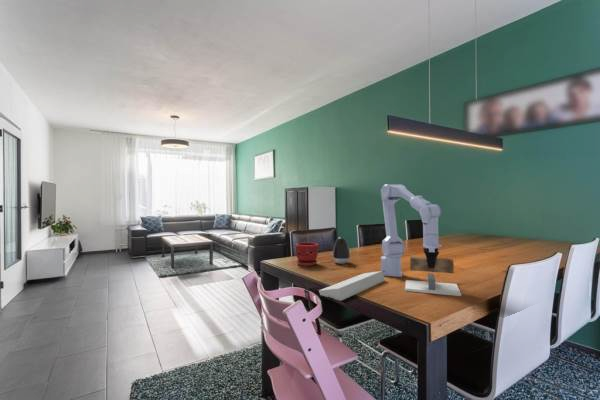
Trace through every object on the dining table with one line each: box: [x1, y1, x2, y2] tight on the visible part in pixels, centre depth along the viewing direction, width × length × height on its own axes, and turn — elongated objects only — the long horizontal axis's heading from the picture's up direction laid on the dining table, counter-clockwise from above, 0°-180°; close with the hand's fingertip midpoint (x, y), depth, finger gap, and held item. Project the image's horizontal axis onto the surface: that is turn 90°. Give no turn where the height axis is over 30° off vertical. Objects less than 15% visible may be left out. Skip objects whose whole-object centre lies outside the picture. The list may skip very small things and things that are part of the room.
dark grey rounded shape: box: [332, 236, 351, 265], centre depth 171 cm, size 10×10×15 cm
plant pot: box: [295, 242, 319, 267], centre depth 169 cm, size 13×13×12 cm
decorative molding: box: [318, 270, 385, 302], centre depth 124 cm, size 34×5×10 cm
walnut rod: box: [409, 256, 455, 274], centre depth 121 cm, size 16×4×5 cm, turn 69°
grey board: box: [404, 279, 462, 297], centre depth 121 cm, size 20×13×1 cm, turn 69°
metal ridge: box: [427, 272, 436, 290], centre depth 121 cm, size 2×10×4 cm, turn 159°
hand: (431, 266), depth 121 cm, fingers closed on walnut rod, 3 cm apart
